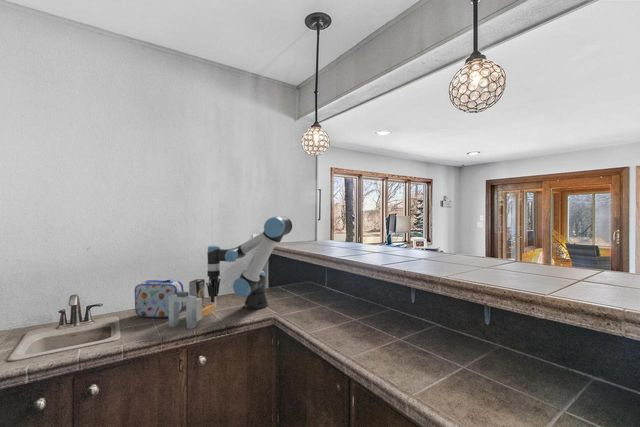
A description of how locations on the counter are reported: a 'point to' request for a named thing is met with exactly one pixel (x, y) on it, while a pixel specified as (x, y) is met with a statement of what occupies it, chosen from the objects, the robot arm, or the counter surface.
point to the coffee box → (197, 289)
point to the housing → (174, 309)
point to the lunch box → (156, 297)
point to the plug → (201, 309)
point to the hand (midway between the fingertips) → (213, 306)
